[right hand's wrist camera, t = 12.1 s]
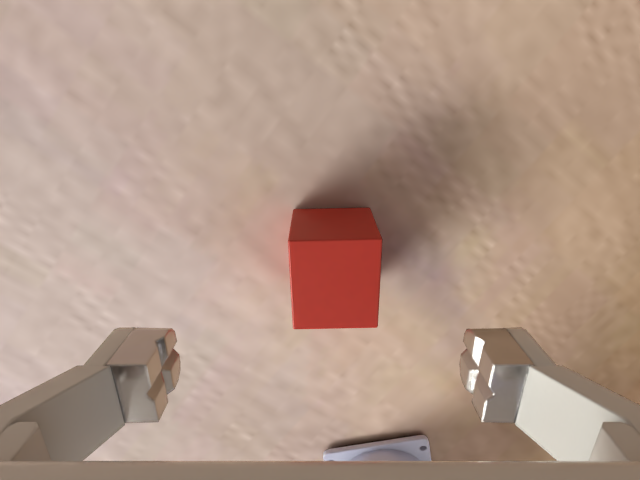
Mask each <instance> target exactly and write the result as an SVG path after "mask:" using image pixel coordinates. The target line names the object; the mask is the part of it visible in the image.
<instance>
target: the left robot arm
mask: <svg viewBox="0 0 640 480" xmlns="http://www.w3.org/2000/svg"><path fill="white" fill-rule="evenodd" d="M323 458H324V461H431V454H430V447H429V441H428V438H427V437H426V436H425V435H417V436H410V437H404V438H397V439H391V440H384V441H378V442H371V443H365V444H358V445H352V446H345V447H339V448H332V449H327V450H325V451H324V453H323Z"/></svg>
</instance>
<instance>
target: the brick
mask: <svg viewBox="0 0 640 480" xmlns="http://www.w3.org/2000/svg"><path fill="white" fill-rule="evenodd" d="M288 249H289V267H290V284H291V302H292V319H293V329H327V328H376V327H377V326H378V311H379V293H380V274H381V255H382V238H381V235H380V233H379V230H378V227H377V225H376V222H375V220H374V217H373V215H372V212H371V210H370V208H326V209H294V210H293V215H292V221H291V227H290V233H289V239H288Z"/></svg>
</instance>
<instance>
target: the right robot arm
mask: <svg viewBox="0 0 640 480" xmlns="http://www.w3.org/2000/svg"><path fill="white" fill-rule="evenodd" d="M176 342H177V339H176V334H175V331H174V330H173V329H172V328H117V329H114V330H113V332H112V333H111V334H110V335H109V336H108V337H107V339H106V340H105V341H104V342H103V343H102V344H101V346H100V347H99V348H98V349H97V350H96V351H95V353H94V354H93V355H92V356H91V357H90V358H89V360H88V361H87V362H86V363H85V364H84V365H83V366H76V367H74V368H72V369H70V370H68V371H66V372H64V373H62V374H60V375H58V376H56V377H54V378H52V379H50V380H48V381H46V382H45V383H43V384H41V385H39V386H37V387H35V388H33V389H31V390H29V391H27V392H25V393H23V394H21V395H19V396H17V397H15V398H13V399H11V400H9V401H7V402H5V403H3V404H2V405H0V480H640V405H638V404H636V403H634V402H632V401H630V400H629V399H627V398H625V397H623V396H621V395H619V394H617V393H615V392H613V391H611V390H609V389H607V388H605V387H603V386H601V385H599V384H597V383H595V382H593V381H592V380H590V379H588V378H586V377H584V376H582V375H580V374H578V373H576V372H574V371H572V370H570V369H568V368H566V367H564V366H557V365H556V364H555V363H554V362H553V361H552V360H551V358H550V357H549V356H548V355H547V354H546V353H545V351H544V350H543V349H542V348H541V347H540V346H539V344H538V343H537V342H536V341H535V340H534V339H533V337H532V336H531V335H530V334H529V333H528V332H527V330H526V329H524V328H522V327H517V328H494V329H467V330H466V332H465V334H464V339H463V342H464V344H465V346H466V348H467V349H466V350H465V351H464V352H463V353H462V354H461V357H460V364H459V365H460V375H461V379H462V382H463V384H464V387H465V389H466V390H468V391H469V392H470V393H472V394H473V398H472V403H473V405H474V407H475V409H476V411H477V413H478V416H479V418H480V420H481V422H498V423H515V425H516V426H517V427H518V428H520V429H521V430H522V431H523V432H524V433H525V434H527V435H528V436H529V437H530V438H531V439H533V440H534V441H535V442H536V443H537V444H538V445H540V446H541V447H542V448H543V449H544V450H545V451H547V452H548V453H549V454H550V455H551V456H552V457H554V458H555V459H556V460H557V461H83V460H84V459H85V458H86V457H88V456H89V455H90V454H91V453H92V452H94V451H95V450H96V449H97V448H98V447H99V446H101V445H102V444H103V443H104V442H105V441H106V440H108V439H109V438H110V437H111V436H112V435H114V434H115V433H116V432H117V431H118V430H119V429H121V428H122V427H123V426H124V425H125V423H141V422H159V420H160V418H161V416H162V414H163V411H164V409H165V407H166V405H167V403H168V398H167V394H168V393H170V392H171V391H172V390H174V389H175V387H176V384H177V382H178V379H179V374H180V356H179V354H178V353H177V352H176V351H175V350H174V349H173V348H174V346H175V344H176Z"/></svg>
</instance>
